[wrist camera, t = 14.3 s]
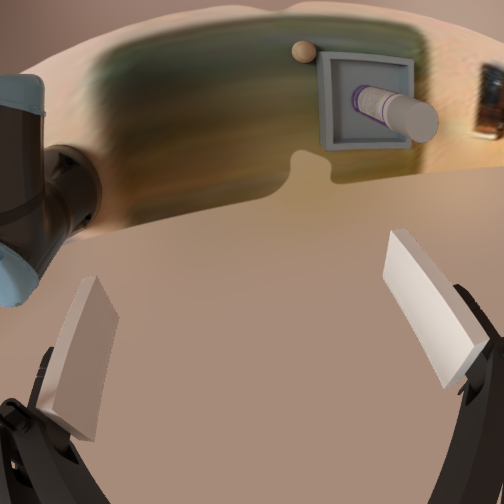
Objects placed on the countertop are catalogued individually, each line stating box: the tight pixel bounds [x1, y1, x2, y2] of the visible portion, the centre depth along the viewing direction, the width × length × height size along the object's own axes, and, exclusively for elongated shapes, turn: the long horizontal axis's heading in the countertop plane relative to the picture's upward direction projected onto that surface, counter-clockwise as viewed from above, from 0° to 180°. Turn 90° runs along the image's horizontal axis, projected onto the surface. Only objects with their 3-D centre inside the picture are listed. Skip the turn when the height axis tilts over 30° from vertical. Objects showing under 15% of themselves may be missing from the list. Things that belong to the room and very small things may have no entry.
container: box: [350, 85, 439, 143], centre depth 31 cm, size 5×5×15 cm
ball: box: [292, 41, 316, 63], centre depth 32 cm, size 3×3×3 cm
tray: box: [316, 52, 414, 151], centre depth 36 cm, size 14×14×3 cm
